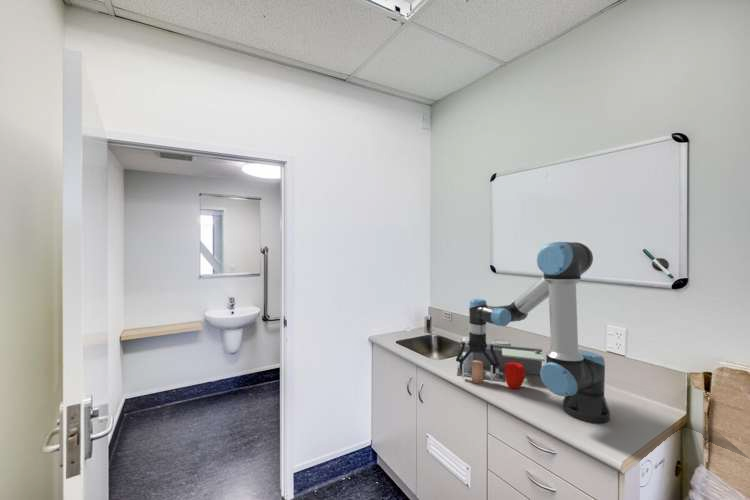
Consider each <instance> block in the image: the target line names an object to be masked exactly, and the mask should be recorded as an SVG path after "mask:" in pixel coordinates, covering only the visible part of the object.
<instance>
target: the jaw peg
mask: <svg viewBox="0 0 750 500" xmlns="http://www.w3.org/2000/svg"><path fill="white" fill-rule="evenodd" d="M483 380H484V379H483V362H481V361H477V360H475V361H472V377H471V382H472V383H474V384H479V385H481V384H483V383H484V381H483Z"/></svg>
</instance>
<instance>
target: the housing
mask: <svg viewBox="0 0 750 500" xmlns="http://www.w3.org/2000/svg"><path fill="white" fill-rule="evenodd" d="M465 342H468V341H465ZM462 343H463V340H460V345H459V348H460V350H461V348H462ZM486 344H489V343H488V342H486ZM502 348H505V349H514V350H524V351H534V352H535V350H539V351H540V352H541V353H542V355H543V349H542V348H536V347H525V346H518V345H517V346H516V345H515V346H514V345H511V346H508V345H498V344H493V349H494V352H495V354H496V356H497V359H498V361H499V364H500V365H499V366H496V367H495V374H493V381H495V382H505V380H504V379H505V375H504V367H505V364H507V363H511V362H515V363H519V364H521V365H523V366H524V368H525V374H530V375H539V376H541V375H540V371H541V368H542V366H543V361H538V360H529V359H520V358H511V357H502ZM469 349H470V347H469V346H468V345H467V346H466V347H465V348H464V350H463V352H462V354H461V356H460V359H461V358H462V357H463V356H464V355H465V354H466V353H467V351H468V350H469ZM460 350H459V351H460ZM485 350H486V352H487V353H488V355H489V356H490V357H491V359H492V360H493V361H494V363H496V362H495V360H494V358H493V355H492V353H491V350H490V349H489V348H488V347H487V348H486V349H485ZM543 356H544V355H543ZM475 360H477V361H481V362H483V380H486V381H487V380H488V381H491V363H490V362H489V361H488V359H487V358H486V357H485V355H484V354H483V353H478V352H477V353H474V352H473V351H472V352H471V353H470V354H469V356H468V357H467V358H466V359H465V360H464V361H463V362H464V378H472V361H475ZM456 376H459V377H462V370H460V363H459V364H458V365H457V373H456Z"/></svg>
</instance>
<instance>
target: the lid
mask: <svg viewBox="0 0 750 500" xmlns="http://www.w3.org/2000/svg"><path fill="white" fill-rule="evenodd" d="M542 354H543V352H542V353H541V352H540V351H539V350H535V352H534V351H524V350H514V349H505V348H502V357H511V358H520V359H529V360H538V361H542V362H545V361H546V359H545V357H544V355H542Z"/></svg>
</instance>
